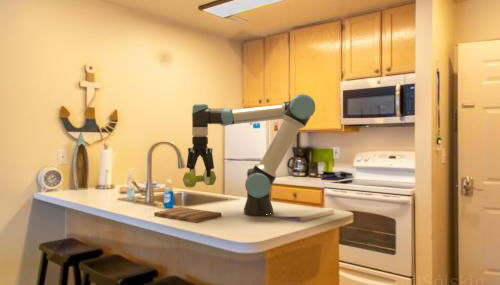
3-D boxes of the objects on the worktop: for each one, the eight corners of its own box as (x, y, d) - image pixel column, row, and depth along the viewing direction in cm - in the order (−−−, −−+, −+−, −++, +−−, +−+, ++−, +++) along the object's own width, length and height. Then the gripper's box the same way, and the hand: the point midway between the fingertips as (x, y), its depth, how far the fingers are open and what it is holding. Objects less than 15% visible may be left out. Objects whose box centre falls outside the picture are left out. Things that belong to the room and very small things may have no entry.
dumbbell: (191, 188, 169) (192, 172, 169) (181, 187, 175) (181, 171, 175) (217, 185, 182) (217, 170, 182) (206, 184, 187) (206, 169, 187)
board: (221, 216, 182) (221, 212, 182) (196, 222, 167) (196, 218, 167) (180, 210, 198) (180, 207, 198) (154, 216, 183) (154, 212, 183)
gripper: (222, 136, 176) (221, 183, 175) (189, 136, 187) (189, 181, 187) (211, 136, 169) (211, 185, 169) (178, 136, 181) (178, 182, 181)
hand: (200, 183), depth 178 cm, fingers closed on dumbbell, 8 cm apart
